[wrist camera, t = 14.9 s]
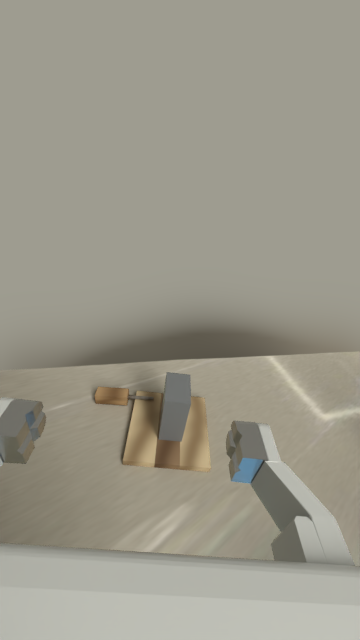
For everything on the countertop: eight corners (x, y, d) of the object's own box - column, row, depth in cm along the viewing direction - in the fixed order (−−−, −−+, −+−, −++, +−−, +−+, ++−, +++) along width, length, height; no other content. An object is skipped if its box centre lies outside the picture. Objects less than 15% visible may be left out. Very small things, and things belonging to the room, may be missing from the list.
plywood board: (122, 464, 40) (122, 460, 39) (136, 394, 51) (136, 390, 51) (209, 471, 41) (210, 468, 40) (203, 401, 52) (204, 397, 52)
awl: (95, 403, 48) (94, 395, 47) (99, 394, 50) (97, 386, 49) (152, 406, 49) (152, 399, 48) (153, 397, 51) (154, 390, 49)
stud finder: (158, 439, 43) (164, 400, 37) (160, 409, 48) (166, 372, 42) (181, 441, 43) (191, 403, 38) (181, 411, 48) (190, 374, 43)
